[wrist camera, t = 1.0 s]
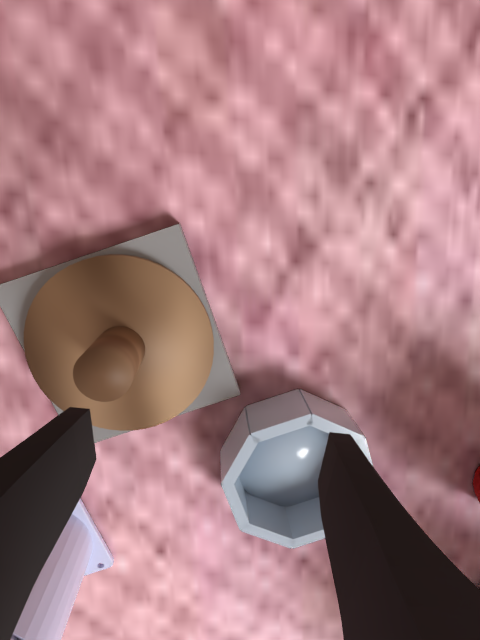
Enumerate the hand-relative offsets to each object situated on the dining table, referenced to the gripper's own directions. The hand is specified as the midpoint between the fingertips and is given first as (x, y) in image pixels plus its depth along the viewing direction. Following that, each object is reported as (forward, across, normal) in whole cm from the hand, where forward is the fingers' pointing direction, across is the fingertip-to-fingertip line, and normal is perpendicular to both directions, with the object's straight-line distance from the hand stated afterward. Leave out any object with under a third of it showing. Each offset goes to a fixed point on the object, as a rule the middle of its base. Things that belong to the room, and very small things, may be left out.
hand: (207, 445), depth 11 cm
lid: (+12, +7, +4) cm, 14 cm away
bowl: (+13, -5, +13) cm, 19 cm away
